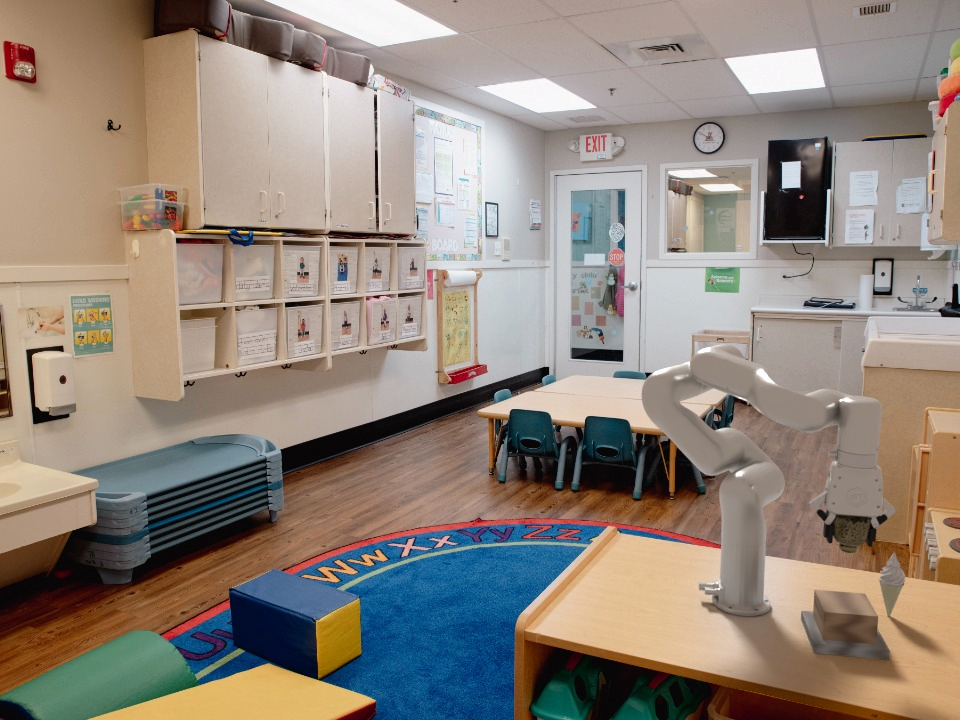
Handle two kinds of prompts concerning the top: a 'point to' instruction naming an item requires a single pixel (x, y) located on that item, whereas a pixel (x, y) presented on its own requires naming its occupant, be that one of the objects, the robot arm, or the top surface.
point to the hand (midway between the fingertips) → (848, 541)
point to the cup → (850, 532)
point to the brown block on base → (844, 626)
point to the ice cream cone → (891, 583)
